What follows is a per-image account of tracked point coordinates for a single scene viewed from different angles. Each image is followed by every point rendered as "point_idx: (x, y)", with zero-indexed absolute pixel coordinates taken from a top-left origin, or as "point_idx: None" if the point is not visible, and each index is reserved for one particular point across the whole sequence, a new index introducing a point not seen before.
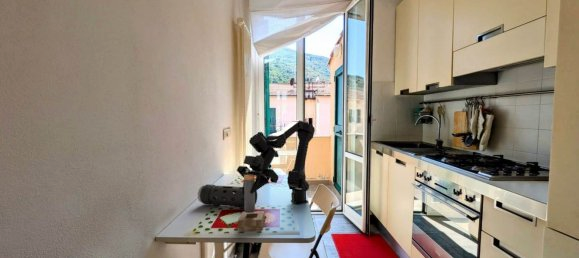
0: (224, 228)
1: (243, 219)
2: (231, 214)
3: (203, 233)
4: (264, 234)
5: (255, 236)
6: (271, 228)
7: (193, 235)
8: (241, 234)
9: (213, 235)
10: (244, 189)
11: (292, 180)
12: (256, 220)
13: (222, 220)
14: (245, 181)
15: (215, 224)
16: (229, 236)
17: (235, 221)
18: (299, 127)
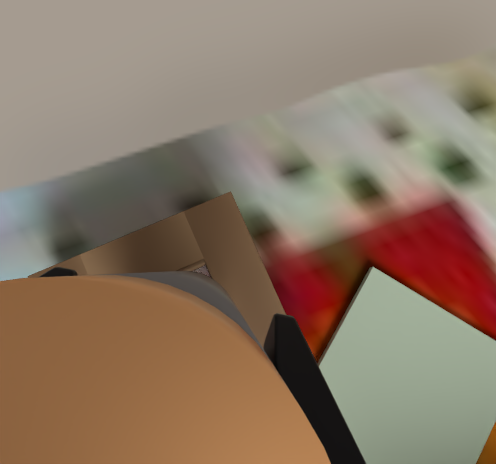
0: (351, 213)
1: (194, 226)
2: (477, 448)
3: (428, 102)
4: (11, 226)
5: (60, 178)
6: None
7: (465, 60)
8: (173, 172)
9: (344, 100)
10: (225, 299)
11: None
12: (75, 256)
13: (465, 325)
14: (160, 279)
15: (462, 248)
16: (234, 121)
17: (344, 328)
18: None
